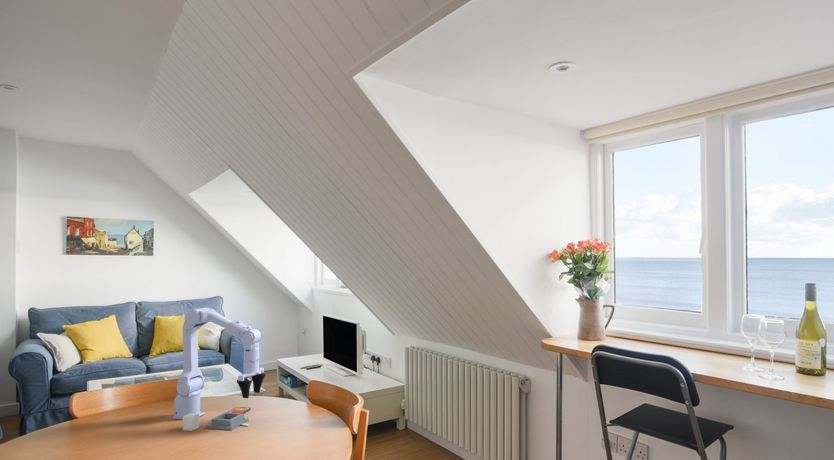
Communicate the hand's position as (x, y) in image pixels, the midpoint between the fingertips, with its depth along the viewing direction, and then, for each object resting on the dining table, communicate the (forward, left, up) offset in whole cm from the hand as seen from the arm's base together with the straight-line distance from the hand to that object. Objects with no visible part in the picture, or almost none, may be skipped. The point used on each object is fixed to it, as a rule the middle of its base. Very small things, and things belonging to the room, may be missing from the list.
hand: (251, 395), depth 194 cm
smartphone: (-12, +6, -11) cm, 17 cm away
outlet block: (-5, -5, -10) cm, 12 cm away
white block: (-18, -12, -10) cm, 24 cm away
